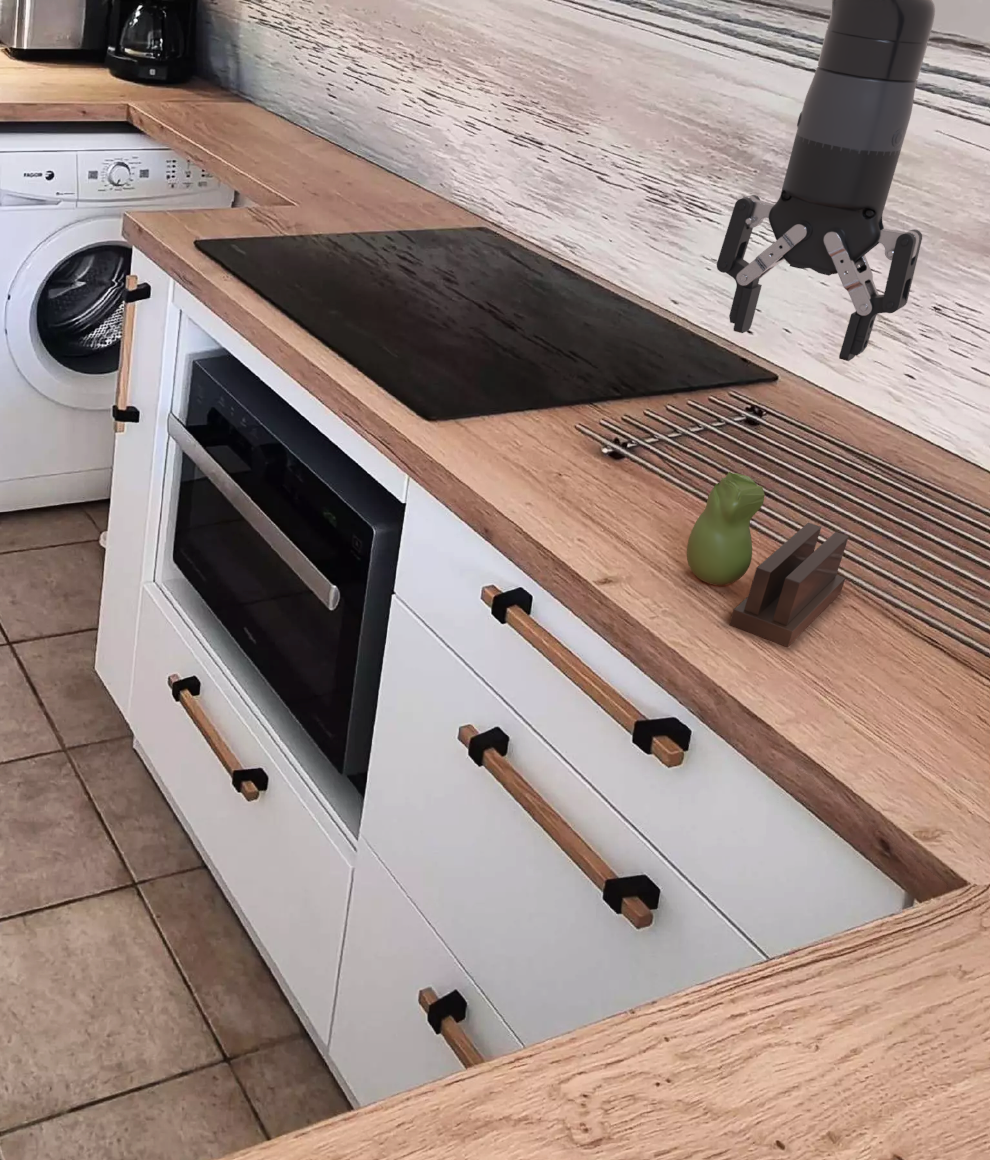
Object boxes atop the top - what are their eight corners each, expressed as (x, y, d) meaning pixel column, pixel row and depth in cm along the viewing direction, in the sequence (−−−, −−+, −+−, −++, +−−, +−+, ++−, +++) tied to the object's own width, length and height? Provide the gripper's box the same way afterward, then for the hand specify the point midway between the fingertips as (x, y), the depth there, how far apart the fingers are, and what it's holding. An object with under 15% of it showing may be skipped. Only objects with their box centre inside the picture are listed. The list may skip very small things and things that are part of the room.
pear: (707, 562, 137) (736, 460, 132) (756, 587, 133) (787, 483, 129) (667, 574, 134) (695, 470, 129) (715, 600, 130) (746, 494, 126)
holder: (840, 592, 134) (859, 536, 132) (787, 647, 124) (806, 588, 121) (785, 572, 137) (802, 517, 134) (728, 624, 126) (746, 566, 124)
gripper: (961, 150, 113) (897, 359, 120) (774, 114, 120) (724, 313, 127) (933, 160, 107) (868, 378, 114) (739, 123, 115) (689, 330, 122)
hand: (792, 344), depth 121 cm, fingers open, 8 cm apart
